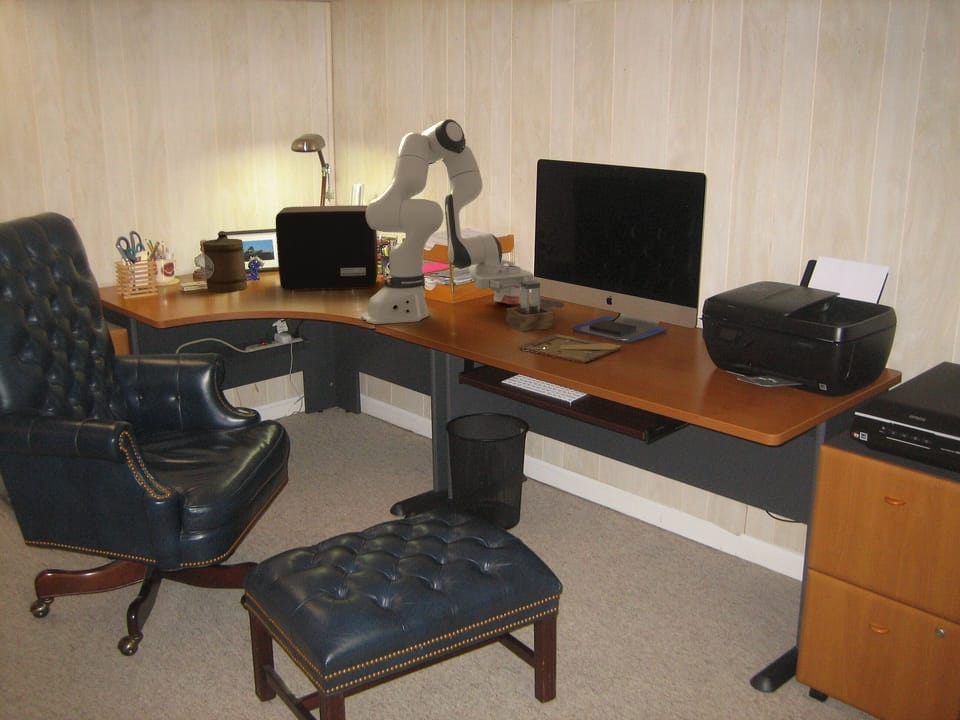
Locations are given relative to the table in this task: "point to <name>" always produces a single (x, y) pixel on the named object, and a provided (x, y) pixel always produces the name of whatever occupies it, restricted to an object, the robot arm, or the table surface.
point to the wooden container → (224, 264)
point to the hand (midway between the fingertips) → (513, 284)
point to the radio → (326, 248)
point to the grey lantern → (534, 297)
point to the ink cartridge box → (508, 291)
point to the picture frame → (570, 348)
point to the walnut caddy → (530, 319)
